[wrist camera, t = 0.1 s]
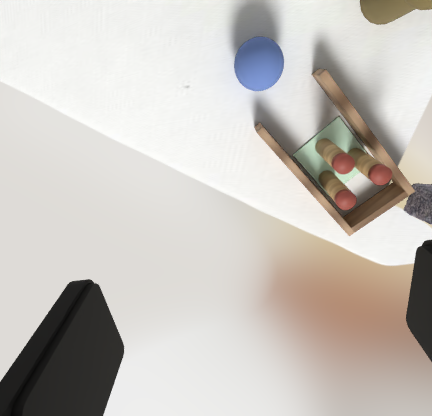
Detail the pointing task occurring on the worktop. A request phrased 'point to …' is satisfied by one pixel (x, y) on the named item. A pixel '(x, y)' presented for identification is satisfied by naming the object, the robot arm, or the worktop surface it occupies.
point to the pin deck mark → (315, 162)
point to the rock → (420, 202)
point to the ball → (259, 63)
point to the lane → (400, 183)
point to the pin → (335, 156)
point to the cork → (390, 9)
